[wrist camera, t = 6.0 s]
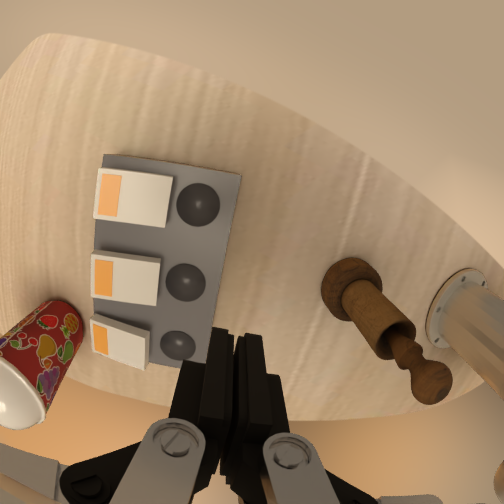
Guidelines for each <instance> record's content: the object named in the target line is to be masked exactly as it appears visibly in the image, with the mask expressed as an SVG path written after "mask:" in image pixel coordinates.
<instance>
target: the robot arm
mask: <svg viewBox="0 0 504 504" xmlns="http://www.w3.org/2000/svg"><path fill="white" fill-rule="evenodd" d="M426 332H427V336H428V339H429V340H430V342H431V343H432V344H433V345H434V346H436V347H437V348H441V349H442V348H449V347H452V348H453V349H454V350H455V351H456V352H457V353H458V354H459V355H460V356H461V357H462V358H463V359H464V360H465V361H466V362H467V363H468V364H469V365H470V366H471V367H472V368H473V369H474V370H475V371H476V372H477V373H478V374H479V375H480V376H481V377H482V378H483V379H484V381H485V382H486V383H487V384H488V385H489V386H490V387H491V388H492V389H493V390H494V391H495V392H496V393H497V394H498V395H499V396H500V398H502V399H503V401H504V300H503V299H502V298H500V297H499V296H497V295H495V294H494V293H492V292H491V291H489V290H488V286H487V281H486V279H485V277H484V275H483V274H482V273H480V272H479V271H477V270H475V269H465V270H462V271H460V272H458V273H456V274H455V275H454V276H453V277H451V278H450V279H449V280H448V281H447V282H446V283H445V284H444V286H443V287H442V288H441V290H440V291H439V292H438V294H437V296H436V297H435V299H434V301H433V303H432V306H431V308H430V311H429V314H428V318H427V323H426ZM233 353H234V355H233ZM219 460H220V475H223V476H224V475H225V476H226V484H230V488H231V490H232V491H234V492H235V493H236V494H237V495H238V502H239V504H443V502H442V501H441V500H440V499H439V498H438V497H436V496H434V495H428V494H427V495H415V496H414V495H413V496H381V497H380V498H378V499H374V498H373V497H372V496H370V495H369V494H367V493H365V492H363V491H361V490H359V489H358V488H356V487H354V486H352V485H350V484H349V483H347V482H345V481H344V480H342V479H340V478H338V477H337V476H335V475H334V474H332V473H330V472H329V471H327V470H326V469H324V467H323V465H322V462H321V460H320V458H319V456H318V453H317V451H316V449H315V447H314V446H313V444H312V443H310V442H309V441H308V440H307V439H306V438H304V437H302V436H300V435H297V434H293V433H290V430H289V424H288V418H287V413H286V407H285V402H284V396H283V391H282V385H281V379H280V376H279V375H275V374H267V373H266V365H265V357H264V349H263V341H262V336H261V335H256V334H250V333H245V335H244V337H243V336H238V339H237V343H236V347H235V351H234V335H231V334H228V330H227V329H222V328H217V327H212V332H211V337H210V342H209V348H208V353H207V358H206V364H204V363H199V362H194V361H190V360H185V359H183V362H182V365H181V369H180V373H179V377H178V381H177V385H176V389H175V393H174V397H173V401H172V405H171V409H170V413H169V417H168V418H166V419H162V420H158V421H157V422H155V423H153V424H152V425H151V426H150V428H149V429H148V430H147V432H146V434H145V436H144V438H143V440H142V441H140V442H138V443H135V444H133V445H130V446H127V447H125V448H122V449H119V450H116V451H113V452H111V453H107V454H104V455H102V456H98V457H95V458H92V459H89V460H85V461H82V462H79V463H75V464H73V465H71V466H67V465H63V464H60V463H59V461H57V460H53V459H49V458H46V457H42V456H38V455H35V454H32V453H28V452H25V451H22V450H19V449H16V448H13V447H10V446H8V445H5V444H2V443H0V504H192V500H193V497H194V494H195V493H197V492H199V491H201V490H202V489H204V488H206V487H208V485H209V482H210V479H211V475H212V474H215V472H216V469H217V466H218V463H219ZM494 490H495V493H496V495H497V497H498V499H499V500H500V502H501V503H502V504H504V461H503V462H502V463H501V464H500V466H499V467H498V469H497V471H496V473H495V476H494ZM479 504H480V503H479Z"/></svg>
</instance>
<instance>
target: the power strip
mask: <svg viewBox="0 0 504 504" xmlns="http://www.w3.org/2000/svg"><path fill="white" fill-rule="evenodd" d="M102 167H106V168H115V169H124V170H132V171H140V172H147V173H155V174H162V175H169V176H173V181H172V186H171V192H170V198H169V204H168V211H167V217H166V224H165V228H162V227H155V226H147V225H140V224H132V223H125V222H117V221H109V220H101V219H96V222H95V237H94V250H95V249H96V250H103V251H110V252H117V253H124V254H132V255H139V256H147V257H154V258H161V262H160V271H159V280H158V291H157V302H156V306H151V305H143V304H135V303H128V302H121V301H114V300H107V299H100V298H94V297H93V300H94V315H95V314H99V315H102V316H104V317H107V318H110V319H113V320H116V321H119V322H122V323H125V324H128V325H131V326H134V327H137V328H140V329H143V330H146V331H149V332H150V338H149V362H150V363H155V364H160V365H165V366H170V367H175V368H181V365H182V362H183V359H185V360H190V361H194V362H199V363H204V364H205V362H206V356H207V351H208V345H209V339H210V334H211V328H212V322H213V317H214V312H215V306H216V301H217V295H218V290H219V285H220V280H221V274H222V269H223V264H224V259H225V254H226V249H227V244H228V239H229V234H230V229H231V224H232V219H233V214H234V210H235V205H236V200H237V195H238V191H239V186H240V181H241V177H242V176H241V175H240V174H237V173H232V172H227V171H222V170H216V169H211V168H205V167H200V166H194V165H188V164H182V163H176V162H169V161H163V160H156V159H149V158H142V157H134V156H126V155H118V154H104V156H103V162H102Z"/></svg>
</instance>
